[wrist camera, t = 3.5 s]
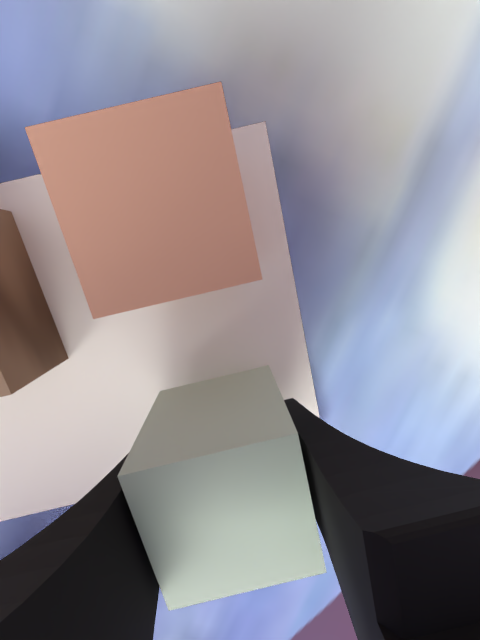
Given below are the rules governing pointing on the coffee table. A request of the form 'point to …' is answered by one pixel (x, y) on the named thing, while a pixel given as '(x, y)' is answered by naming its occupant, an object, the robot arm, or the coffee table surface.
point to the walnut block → (23, 316)
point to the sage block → (222, 490)
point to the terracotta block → (149, 199)
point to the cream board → (140, 347)
